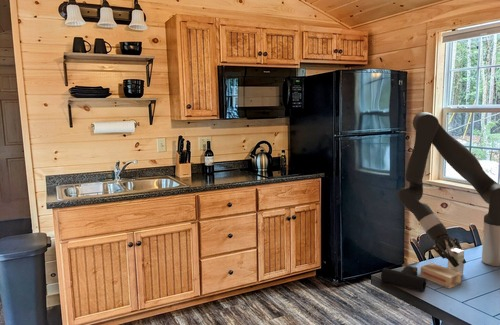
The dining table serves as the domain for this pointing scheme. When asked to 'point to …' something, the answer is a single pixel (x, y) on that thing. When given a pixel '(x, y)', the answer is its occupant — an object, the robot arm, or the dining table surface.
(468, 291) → the dining table surface
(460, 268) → the jack column
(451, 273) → the block
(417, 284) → the pipe connector
